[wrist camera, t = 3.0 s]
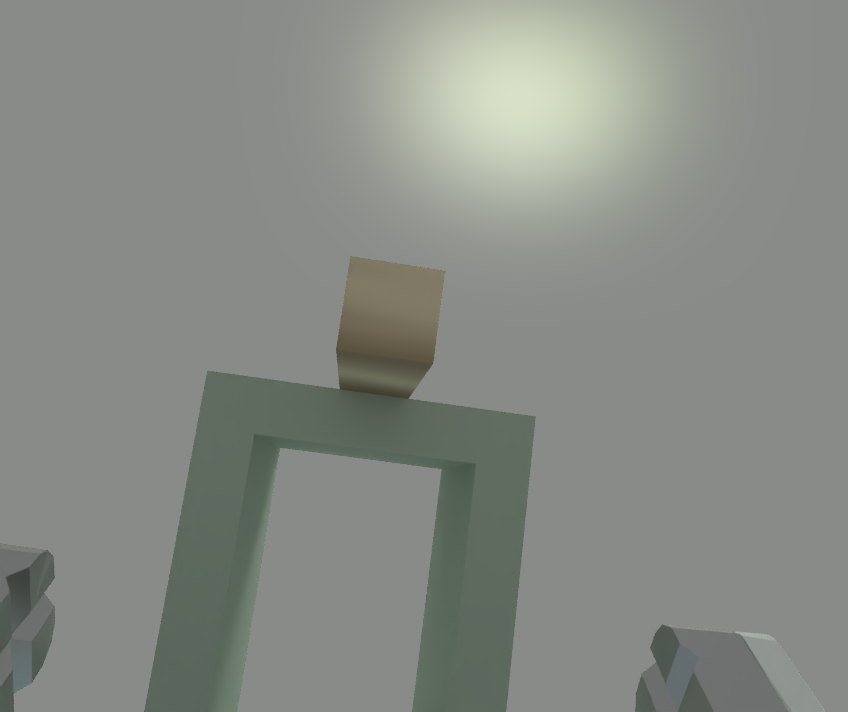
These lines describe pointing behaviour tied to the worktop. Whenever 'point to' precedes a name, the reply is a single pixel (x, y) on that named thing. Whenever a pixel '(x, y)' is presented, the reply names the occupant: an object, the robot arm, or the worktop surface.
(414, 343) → the bar
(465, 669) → the bridge
